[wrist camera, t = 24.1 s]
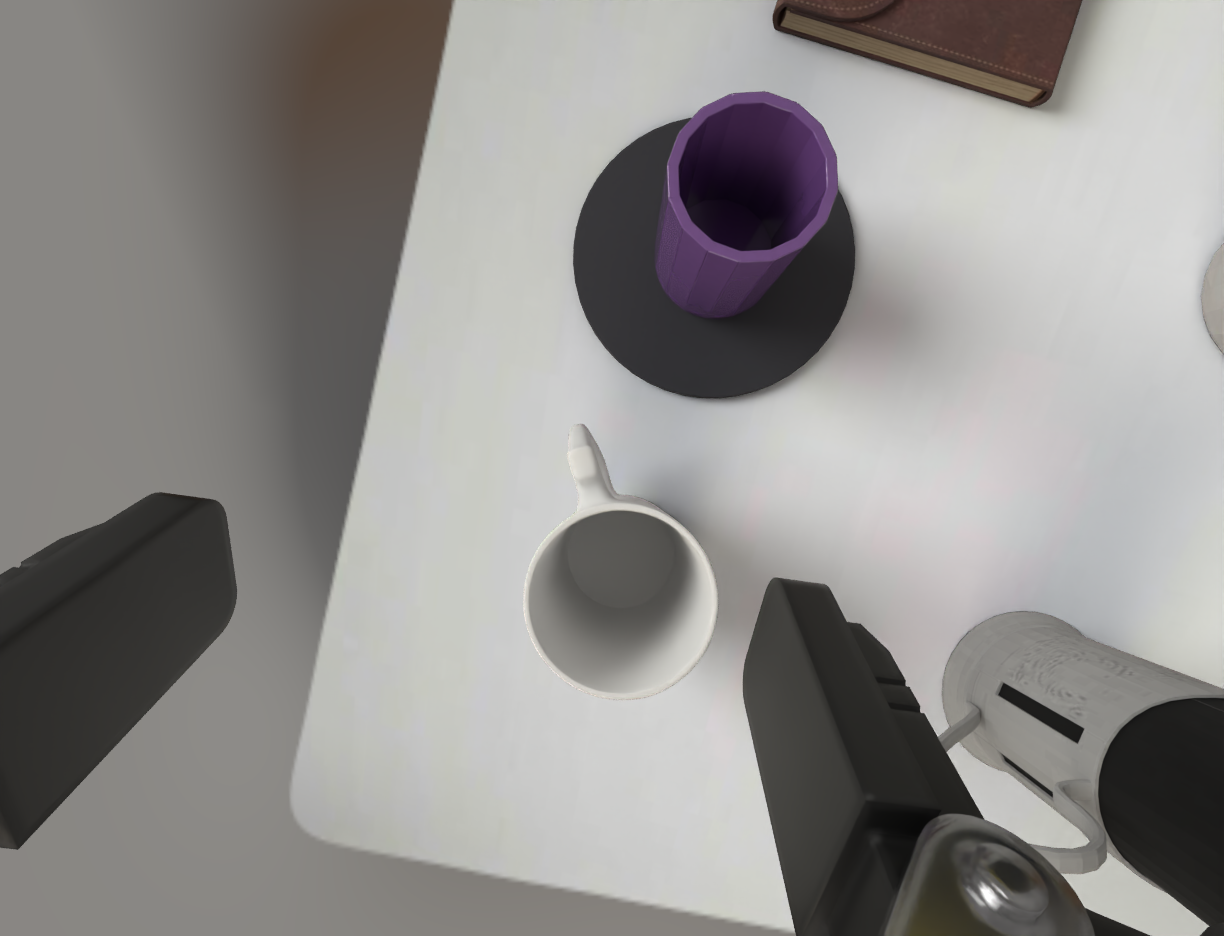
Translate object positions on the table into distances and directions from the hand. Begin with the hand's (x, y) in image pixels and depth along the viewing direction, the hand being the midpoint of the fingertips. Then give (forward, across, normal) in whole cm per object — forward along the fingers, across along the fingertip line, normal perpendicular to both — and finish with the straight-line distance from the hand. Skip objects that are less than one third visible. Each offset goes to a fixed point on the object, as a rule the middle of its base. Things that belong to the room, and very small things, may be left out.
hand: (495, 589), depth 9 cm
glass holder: (+18, -23, +16) cm, 33 cm away
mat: (+27, -6, -3) cm, 28 cm away
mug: (+21, -3, +11) cm, 24 cm away
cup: (+26, -6, -3) cm, 27 cm away
